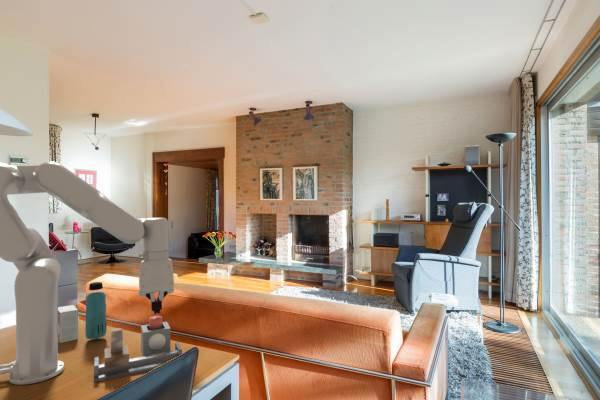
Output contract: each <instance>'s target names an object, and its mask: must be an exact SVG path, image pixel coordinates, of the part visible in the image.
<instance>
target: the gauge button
mask: <svg viewBox="0 0 600 400" xmlns="http://www.w3.org/2000/svg"><path fill="white" fill-rule="evenodd" d="M162 322H163V316H162V315H152V316H150V317H148V325H149V329H158V328H161V327H162Z"/></svg>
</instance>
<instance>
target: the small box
mask: <svg viewBox="0 0 600 400" xmlns="http://www.w3.org/2000/svg"><path fill="white" fill-rule="evenodd" d="M78 339H79V309H78V308H77V306H76V305H74V304H70V305H65V306H58V344H62V343H66V342H67V343H68V342H71V341H75V340H78Z"/></svg>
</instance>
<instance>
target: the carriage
mask: <svg viewBox="0 0 600 400" xmlns="http://www.w3.org/2000/svg"><path fill="white" fill-rule="evenodd" d="M123 332H124V331H123V328H121V327H119V328H113V329H111V330H110V347H108V348H107V347H106V348H104V364H105V369H109V368H114V367H119V366H124V365H129V359H130V352H129V346H128V345H129V344H126V345H125V344H124V345H123V342H124V341H123V339H124V337H123V336H124V335H123V334H124V333H123Z"/></svg>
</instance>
